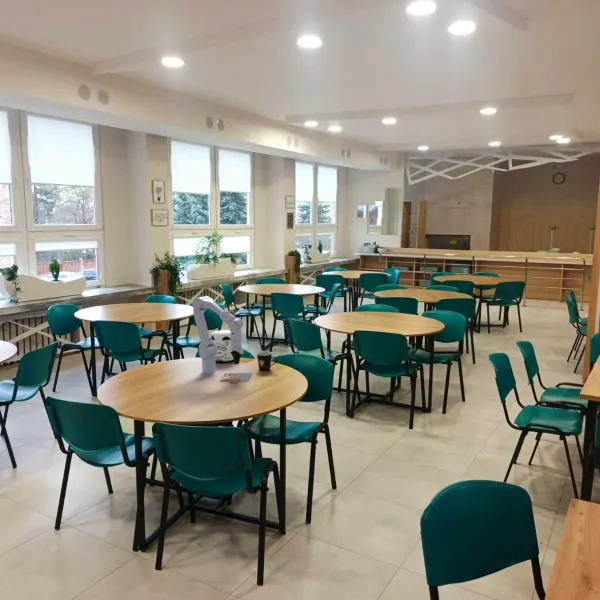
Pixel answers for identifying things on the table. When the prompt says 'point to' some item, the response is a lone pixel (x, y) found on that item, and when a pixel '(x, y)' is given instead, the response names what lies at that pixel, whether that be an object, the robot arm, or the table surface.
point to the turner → (226, 377)
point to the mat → (243, 377)
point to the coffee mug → (265, 361)
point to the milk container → (222, 345)
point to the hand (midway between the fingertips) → (236, 364)
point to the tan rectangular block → (234, 378)
